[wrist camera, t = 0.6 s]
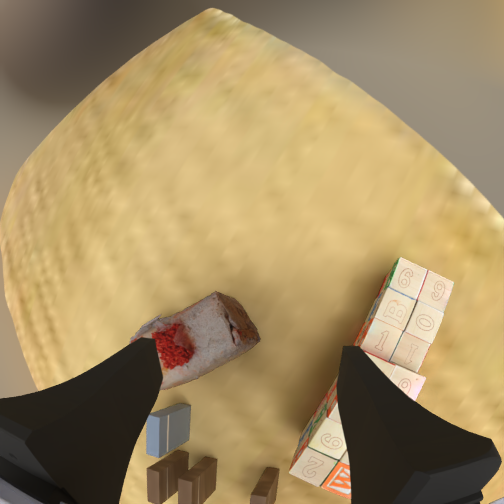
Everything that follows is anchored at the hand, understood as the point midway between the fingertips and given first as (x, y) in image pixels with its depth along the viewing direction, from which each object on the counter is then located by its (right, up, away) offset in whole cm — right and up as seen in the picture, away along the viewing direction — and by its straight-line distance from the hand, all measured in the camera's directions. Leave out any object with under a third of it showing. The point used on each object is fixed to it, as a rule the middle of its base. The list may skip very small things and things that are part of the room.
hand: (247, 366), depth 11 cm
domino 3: (+3, -25, +20) cm, 32 cm away
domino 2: (-5, -24, +22) cm, 33 cm away
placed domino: (-9, -18, +24) cm, 31 cm away
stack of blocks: (+14, -9, +21) cm, 27 cm away
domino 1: (-9, -24, +23) cm, 34 cm away
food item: (-6, -7, +27) cm, 28 cm away
